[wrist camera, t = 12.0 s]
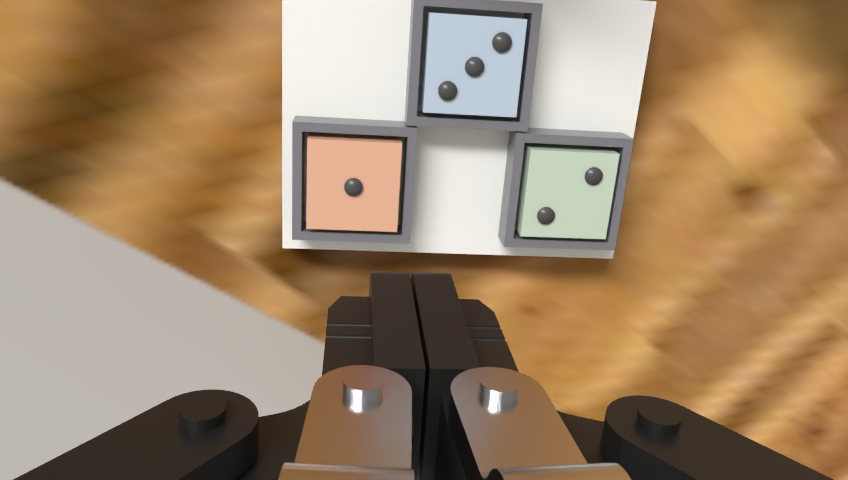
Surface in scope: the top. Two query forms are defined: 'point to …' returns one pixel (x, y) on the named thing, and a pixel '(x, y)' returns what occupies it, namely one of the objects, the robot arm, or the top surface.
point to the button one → (353, 182)
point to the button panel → (458, 115)
